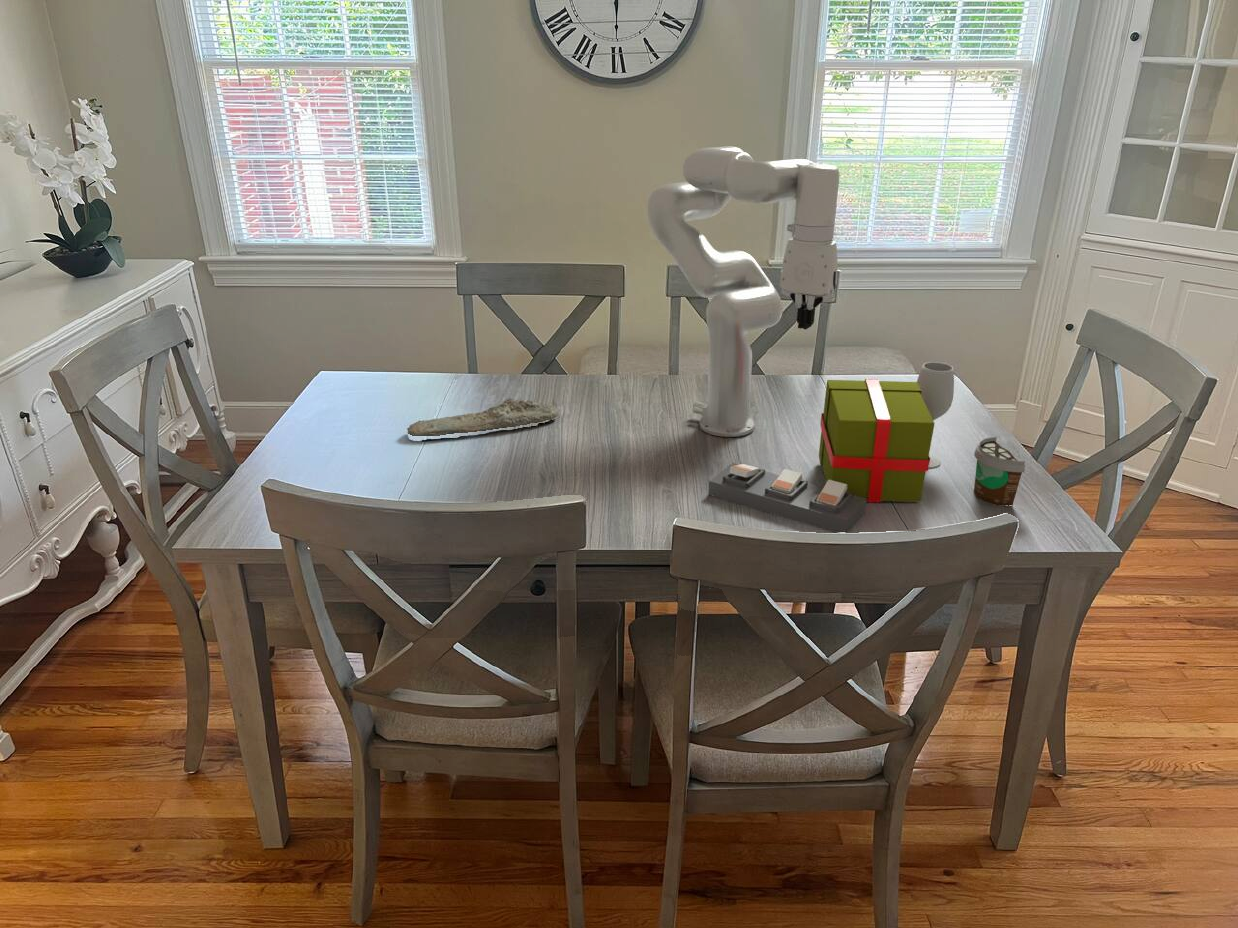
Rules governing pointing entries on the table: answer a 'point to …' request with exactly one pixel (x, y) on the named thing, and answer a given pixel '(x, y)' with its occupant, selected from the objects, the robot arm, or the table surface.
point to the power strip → (788, 500)
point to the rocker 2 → (787, 481)
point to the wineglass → (936, 392)
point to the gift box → (876, 438)
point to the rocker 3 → (832, 493)
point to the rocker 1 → (744, 470)
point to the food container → (996, 473)
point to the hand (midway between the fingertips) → (804, 327)
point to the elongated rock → (487, 419)
